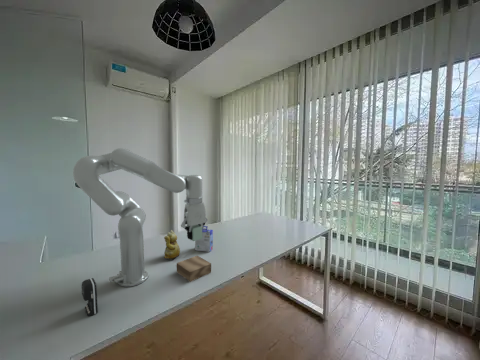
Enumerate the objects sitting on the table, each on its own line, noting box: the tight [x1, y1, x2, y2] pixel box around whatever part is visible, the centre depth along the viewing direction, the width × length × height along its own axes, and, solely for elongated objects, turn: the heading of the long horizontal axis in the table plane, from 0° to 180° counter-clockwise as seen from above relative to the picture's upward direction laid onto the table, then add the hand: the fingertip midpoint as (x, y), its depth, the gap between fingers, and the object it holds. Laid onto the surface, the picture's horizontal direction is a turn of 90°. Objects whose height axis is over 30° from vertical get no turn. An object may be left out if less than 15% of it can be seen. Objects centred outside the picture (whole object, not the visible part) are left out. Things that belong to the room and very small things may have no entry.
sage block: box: [191, 225, 202, 242], centre depth 105 cm, size 5×5×6 cm
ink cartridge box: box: [194, 225, 214, 253], centre depth 132 cm, size 10×6×14 cm, turn 78°
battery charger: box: [80, 277, 99, 317], centre depth 78 cm, size 7×4×11 cm, turn 44°
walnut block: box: [176, 255, 212, 283], centre depth 106 cm, size 12×12×5 cm
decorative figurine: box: [163, 229, 181, 261], centre depth 122 cm, size 10×8×15 cm
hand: (195, 237), depth 105 cm, fingers closed on sage block, 4 cm apart
